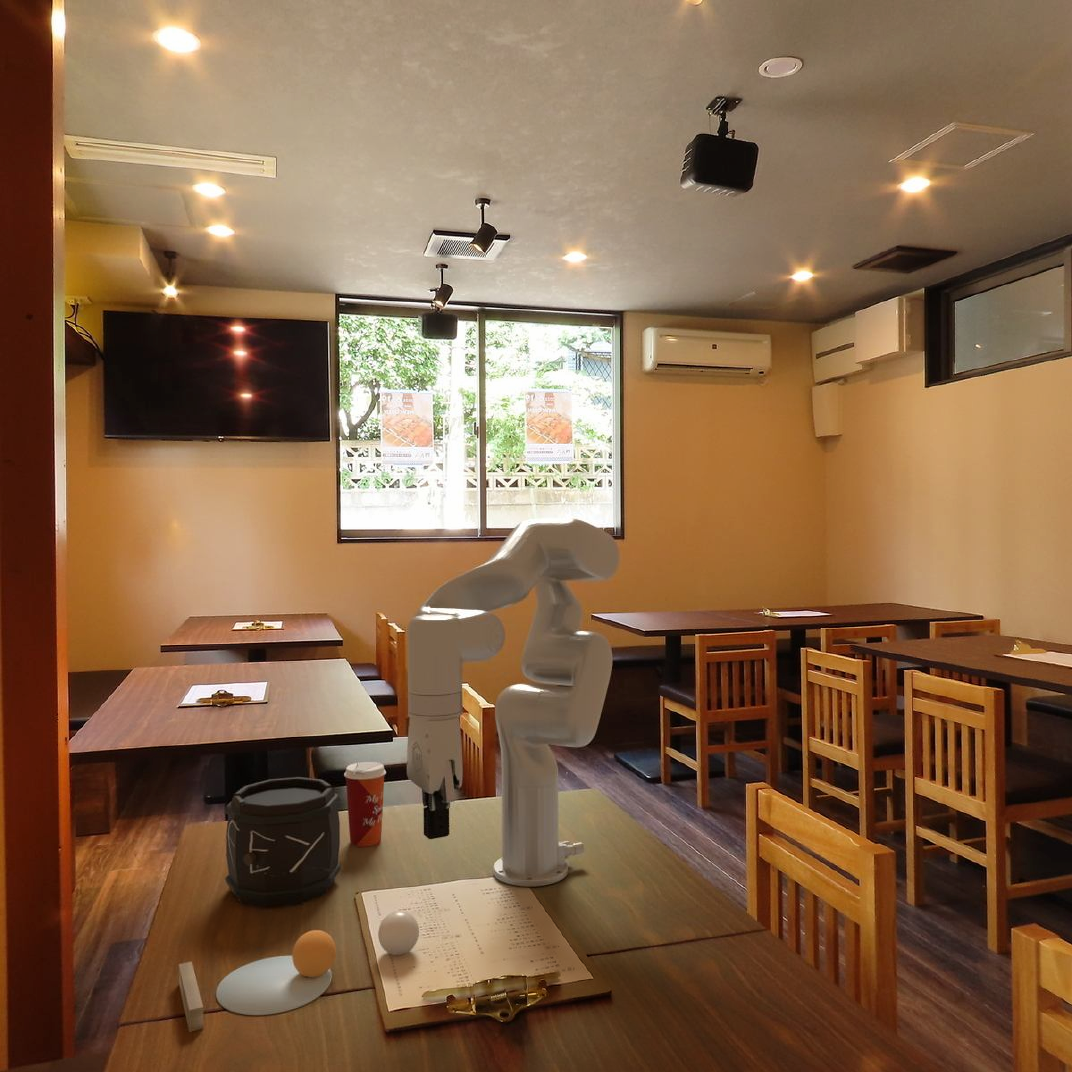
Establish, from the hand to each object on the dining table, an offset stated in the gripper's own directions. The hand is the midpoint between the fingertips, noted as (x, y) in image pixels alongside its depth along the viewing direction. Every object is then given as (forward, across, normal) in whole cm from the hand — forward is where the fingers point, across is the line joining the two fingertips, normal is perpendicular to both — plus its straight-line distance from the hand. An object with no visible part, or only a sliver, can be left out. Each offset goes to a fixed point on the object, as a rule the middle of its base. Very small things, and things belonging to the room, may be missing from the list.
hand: (436, 835), depth 119 cm
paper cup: (+15, -44, +3) cm, 47 cm away
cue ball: (+12, 0, -6) cm, 13 cm away
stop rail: (+15, 0, -32) cm, 35 cm away
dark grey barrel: (+15, -30, -15) cm, 37 cm away
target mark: (+15, 0, -22) cm, 27 cm away
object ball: (+12, 0, -17) cm, 21 cm away
